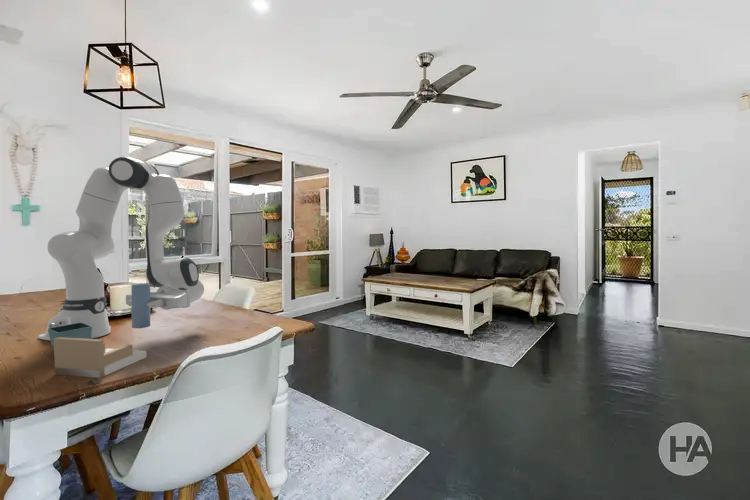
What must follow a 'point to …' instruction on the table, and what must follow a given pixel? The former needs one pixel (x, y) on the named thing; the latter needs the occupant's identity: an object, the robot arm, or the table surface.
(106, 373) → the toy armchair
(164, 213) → the robot arm
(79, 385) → the table surface
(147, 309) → the light blue cylinder
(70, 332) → the flower pot
